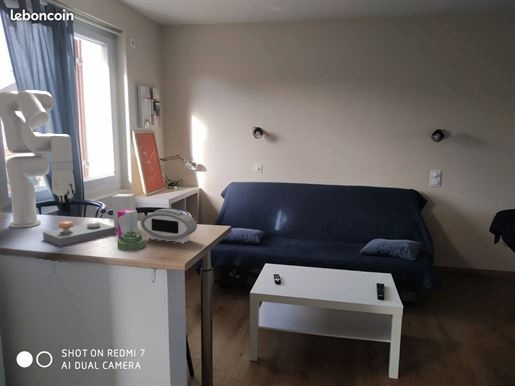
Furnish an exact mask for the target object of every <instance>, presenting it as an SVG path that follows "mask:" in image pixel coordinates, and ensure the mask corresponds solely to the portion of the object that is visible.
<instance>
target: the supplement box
mask: <svg viewBox="0 0 515 386" xmlns="http://www.w3.org/2000/svg"><path fill="white" fill-rule="evenodd" d="M138 228H139V227H138V210H122V211H118V230H117V231H118V233H117V234H118V237H117V238H118V240H119V239H120V236H121V235H123V234H124V233H127V231H130V229H131V231H135V232H136V234H137V233H138V234H139V231H138V230H139V229H138Z"/></svg>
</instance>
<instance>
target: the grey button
mask: <svg viewBox="0 0 515 386" xmlns="http://www.w3.org/2000/svg"><path fill="white" fill-rule="evenodd" d="M100 223H101V221H98V220H96V221H95V220H93V221H88V222H87V223H86V224H87V227H89V228H91V229H93V228H97V227H100Z"/></svg>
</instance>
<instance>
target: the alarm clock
mask: <svg viewBox="0 0 515 386" xmlns="http://www.w3.org/2000/svg"><path fill="white" fill-rule="evenodd" d="M140 227H141V228H142V229H143V231H144V232H146V233H147V234H148V239H149V238H151V239H150V240H154V239H158V240H157V241H161V240H166V241H165V242H169V241H176V242H183V243H182V244H185V243H184V242H186V241H188V240H189V241H190V236H189V235H191V234H193V233H194V232H195V231H197V228H198V224H197V221H196V220H195V218H193V217H192V216H191V215H189V214H188V213H185V212H183V211H181V210H179V209H175V208H161V209H156V210H154V211H153V212H152V213H149V214H146V215H145V216H143V217H142V218H141V221H140ZM189 241H188V242H189ZM176 242H175V243H176ZM186 243H187V242H186Z"/></svg>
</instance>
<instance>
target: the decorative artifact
mask: <svg viewBox="0 0 515 386" xmlns="http://www.w3.org/2000/svg"><path fill="white" fill-rule="evenodd" d="M145 241H146V239H145V237H143V236H142V234H141V233H139V232H138V233H137V234H136V232H135V231H131V229H130V231H127V233H124V234H123V235H121V236H120V239H119V238H118V239H117V249H119V250H122V249H123V251H133V250H134V249H135V250H139V248H140V249H143V248H144V247H145V244H146V243H145ZM135 250H134V251H135Z"/></svg>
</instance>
